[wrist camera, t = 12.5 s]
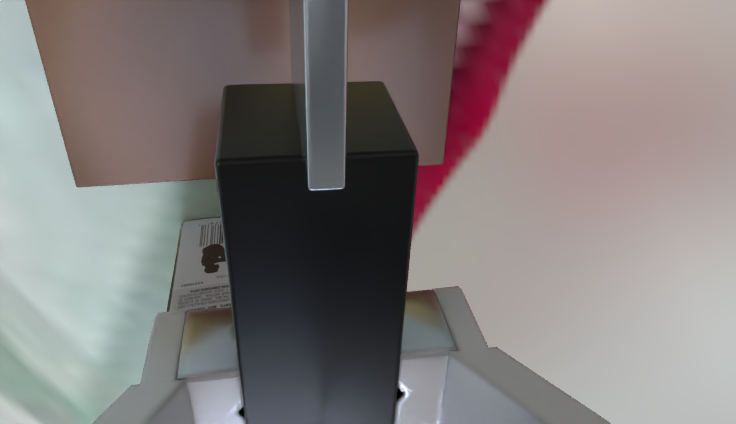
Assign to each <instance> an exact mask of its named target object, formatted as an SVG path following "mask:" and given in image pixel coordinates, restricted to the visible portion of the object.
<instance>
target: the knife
mask: <svg viewBox="0 0 736 424" xmlns="http://www.w3.org/2000/svg"><path fill="white" fill-rule="evenodd" d="M348 12H349V0H289V24H290V51H291V78H292V83H282V84H241V85H226V86H224V88H223V91H222V100H221V109H220V118H219V127H218V136H217V144H216V153H215V162H214V165H215V174H216V182H217V191H218V199H219V207H220V216H221V224H222V232H223V241H224V249H225V257H226V266H227V274H228V282H229V291H230V299H231V307H232V316H233V324H234V332H235V341H236V349H237V357H238V366H239V374H240V383H241V391H242V399H243V408H244V416H245V424H394V422H395V412H396V401H397V390H398V379H399V368H400V357H401V346H402V336H403V325H404V314H405V303H406V292H407V280H408V270H409V259H410V249H411V238H412V227H413V216H414V205H415V194H416V183H417V172H418V162H419V153H418V150H417V148H416V146H415V144H414V142H413V140H412V138H411V136H410V134H409V132H408V130H407V128H406V126H405V124H404V122H403V120H402V118H401V116H400V114H399V112H398V110H397V108H396V106H395V104H394V102H393V100H392V98H391V96H390V94H389V92H388V90H387V88H386V86H385V84H384V82H381V81H362V82H347V71H348Z"/></svg>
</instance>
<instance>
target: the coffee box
mask: <svg viewBox="0 0 736 424" xmlns="http://www.w3.org/2000/svg"><path fill="white" fill-rule="evenodd" d="M228 307H231V299H230V291H229V282H228V274H227V266H226V257H225V249H224V241H223V232H222V224H221V217H220V218H209V219H201V220H192V221H185V222H183V223H182V224H181V228H180V234H179V241H178V247H177V253H176V260H175V266H174V272H173V277H172V283H171V289H170V295H169V301H168V307H167V312H176V311H188V310H198V309H213V308H228Z"/></svg>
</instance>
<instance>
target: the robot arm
mask: <svg viewBox="0 0 736 424" xmlns="http://www.w3.org/2000/svg"><path fill="white" fill-rule="evenodd" d="M92 424H245V416H244V408H243V399H242V391H241V383H240V374H239V366H238V357H237V349H236V341H235V332H234V324H233V316H232V307H228V308H213V309H198V310H188V311H176V312H161V313H157V315H156V316H155V318H154V320H153V325H152V330H151V335H150V339H149V344H148V349H147V354H146V359H145V363H144V368H143V373H142V378H141V383H140V384H138V385H131V386H130V387H129V388H128V389H127V390H126V391H125V392H124V393H123V394H122V395H121V396H120V397H119V398H118V399H117V400H116V401H115V402H114V403H113V404H111V405H110V406H109V407H108V408H107V409H106V410H105V411H104V412H103V413H102V414H101V415H100V416H99V417H98V418H97V419H96V420H95V421H94V422H93V423H92ZM394 424H610V423H609V422H608V421H607V420H605V419H604V418H602V417H601V416H599V415H598V414H596V413H595V412H593V411H592V410H590V409H589V408H587V407H586V406H584V405H583V404H581V403H580V402H578V401H577V400H575V399H574V398H572V397H571V396H569V395H568V394H566V393H565V392H563V391H561V390H560V389H559V388H557V387H556V386H554V385H553V384H551V383H549V382H548V381H547V380H545V379H544V378H542V377H541V376H539V375H537V374H536V373H535V372H533V371H532V370H530V369H529V368H527V367H526V366H524V365H523V364H521V363H520V362H518V361H517V360H515V359H514V358H512V357H511V356H509V355H507V354H506V353H504V352H503V351H502V350H500V349H499V348H497V347H492V348H488V345H487V343H486V341H485V339H484V337H483V335H482V333H481V331H480V328H479V326H478V324H477V322H476V320H475V317H474V316H473V313H472V311H471V309H470V307H469V304H468V303H467V300H466V298H465V296H464V294H463V292H462V290H461V289H460V288H459V287H458V286H455V287H446V288H436V289H432V290H422V291H412V292H406V303H405V314H404V325H403V336H402V346H401V357H400V368H399V379H398V390H397V401H396V412H395V422H394Z"/></svg>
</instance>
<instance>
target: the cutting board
mask: <svg viewBox="0 0 736 424" xmlns="http://www.w3.org/2000/svg"><path fill="white" fill-rule="evenodd" d="M25 1H26V5H27V9H28V12H29V16H30V20H31V23H32V27H33V31H34V34H35V38H36V42H37V45H38V49H39V52H40V56H41V60H42V63H43V67H44V71H45V74H46V78H47V82H48V85H49V89H50V93H51V96H52V100H53V103H54V107H55V111H56V114H57V118H58V122H59V125H60V129H61V133H62V136H63V140H64V144H65V147H66V151H67V154H68V158H69V162H70V165H71V169H72V173H73V176H74V180H75V184H76V187H91V186H107V185H122V184H138V183H154V182H170V181H186V180H201V179H216V174H215V165H214V162H215V153H216V144H217V136H218V127H219V118H220V109H221V100H222V91H223V88H224V86H226V85H241V84H282V83H292V78H291V51H290V24H289V0H25ZM459 9H460V0H349V12H348V71H347V82H362V81H381V82H384V84H385V86H386V88H387V90H388V92H389V94H390V96H391V98H392V100H393V102H394V104H395V106H396V108H397V110H398V112H399V114H400V116H401V118H402V120H403V122H404V124H405V126H406V128H407V130H408V132H409V134H410V136H411V138H412V140H413V142H414V144H415V146H416V148H417V150H418V153H419V162H418V166H422V165H438V164H443V161H444V152H445V142H446V133H447V123H448V114H449V104H450V95H451V85H452V76H453V66H454V56H455V47H456V37H457V28H458V18H459Z"/></svg>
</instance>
